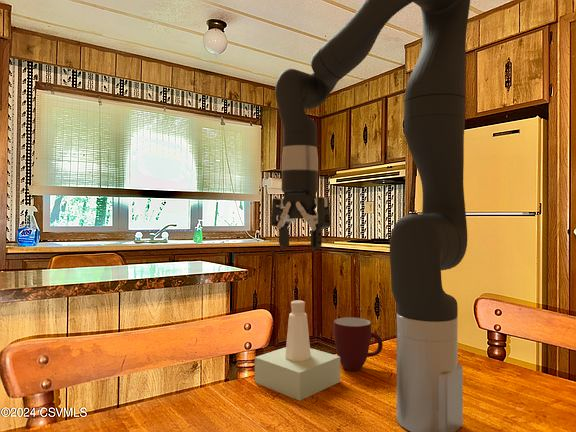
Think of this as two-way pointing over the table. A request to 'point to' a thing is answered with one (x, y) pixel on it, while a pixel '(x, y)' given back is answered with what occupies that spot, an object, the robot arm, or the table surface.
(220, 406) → the table surface
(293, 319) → the salt shaker
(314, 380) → the sage box
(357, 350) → the mug
